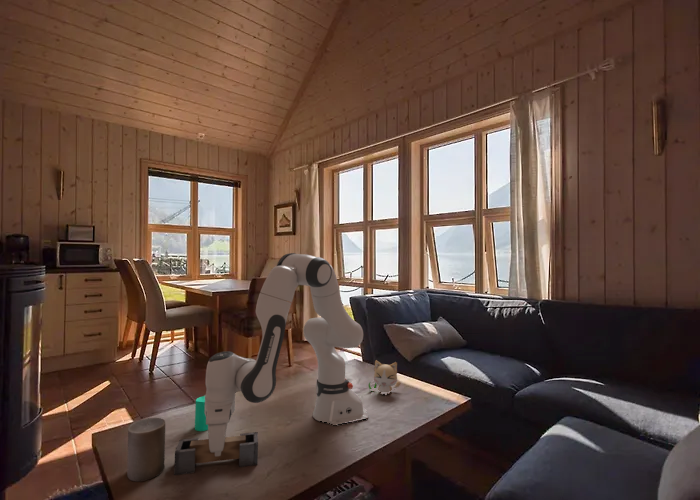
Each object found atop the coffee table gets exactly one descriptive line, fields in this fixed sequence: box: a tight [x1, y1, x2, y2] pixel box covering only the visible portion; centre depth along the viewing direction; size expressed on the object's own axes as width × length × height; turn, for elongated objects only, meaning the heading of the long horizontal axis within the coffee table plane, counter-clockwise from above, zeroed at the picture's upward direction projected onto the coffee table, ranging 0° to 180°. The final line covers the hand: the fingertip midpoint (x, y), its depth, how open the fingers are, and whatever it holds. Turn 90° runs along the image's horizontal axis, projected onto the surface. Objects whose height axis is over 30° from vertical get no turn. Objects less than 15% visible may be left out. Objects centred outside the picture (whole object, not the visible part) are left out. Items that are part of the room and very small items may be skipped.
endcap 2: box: [238, 431, 259, 468], centre depth 114 cm, size 5×7×6 cm
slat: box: [190, 435, 246, 465], centre depth 112 cm, size 16×3×6 cm, turn 106°
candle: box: [194, 394, 208, 432], centre depth 134 cm, size 6×6×12 cm
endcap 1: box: [173, 437, 199, 476], centre depth 109 cm, size 5×7×6 cm
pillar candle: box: [126, 417, 166, 482], centre depth 106 cm, size 10×10×15 cm
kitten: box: [368, 359, 402, 392], centre depth 172 cm, size 15×10×15 cm
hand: (218, 451), depth 112 cm, fingers closed on slat, 3 cm apart
